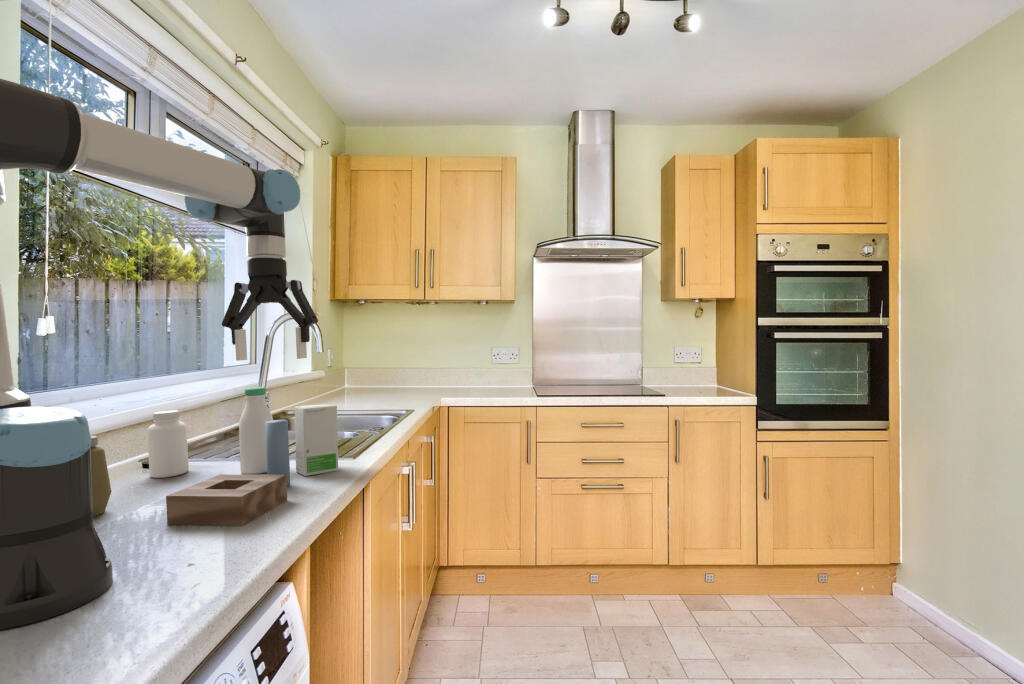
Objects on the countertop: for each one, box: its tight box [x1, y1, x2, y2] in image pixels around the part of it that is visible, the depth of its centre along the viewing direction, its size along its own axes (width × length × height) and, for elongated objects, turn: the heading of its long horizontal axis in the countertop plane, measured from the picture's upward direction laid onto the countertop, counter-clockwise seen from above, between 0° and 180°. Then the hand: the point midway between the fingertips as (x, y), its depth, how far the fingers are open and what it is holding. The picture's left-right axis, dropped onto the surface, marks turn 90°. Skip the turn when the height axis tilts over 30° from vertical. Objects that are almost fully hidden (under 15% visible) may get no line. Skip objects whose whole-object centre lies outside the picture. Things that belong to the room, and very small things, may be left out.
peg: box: [265, 419, 291, 489], centre depth 115 cm, size 4×4×14 cm
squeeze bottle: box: [91, 435, 112, 517], centre depth 100 cm, size 8×8×18 cm
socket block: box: [165, 473, 288, 527], centre depth 99 cm, size 14×14×5 cm
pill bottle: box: [146, 409, 189, 479], centre depth 129 cm, size 8×8×15 cm
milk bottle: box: [238, 386, 274, 475], centre depth 129 cm, size 8×8×20 cm
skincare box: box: [294, 403, 339, 477], centre depth 128 cm, size 8×7×16 cm
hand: (271, 359), depth 114 cm, fingers open, 13 cm apart
